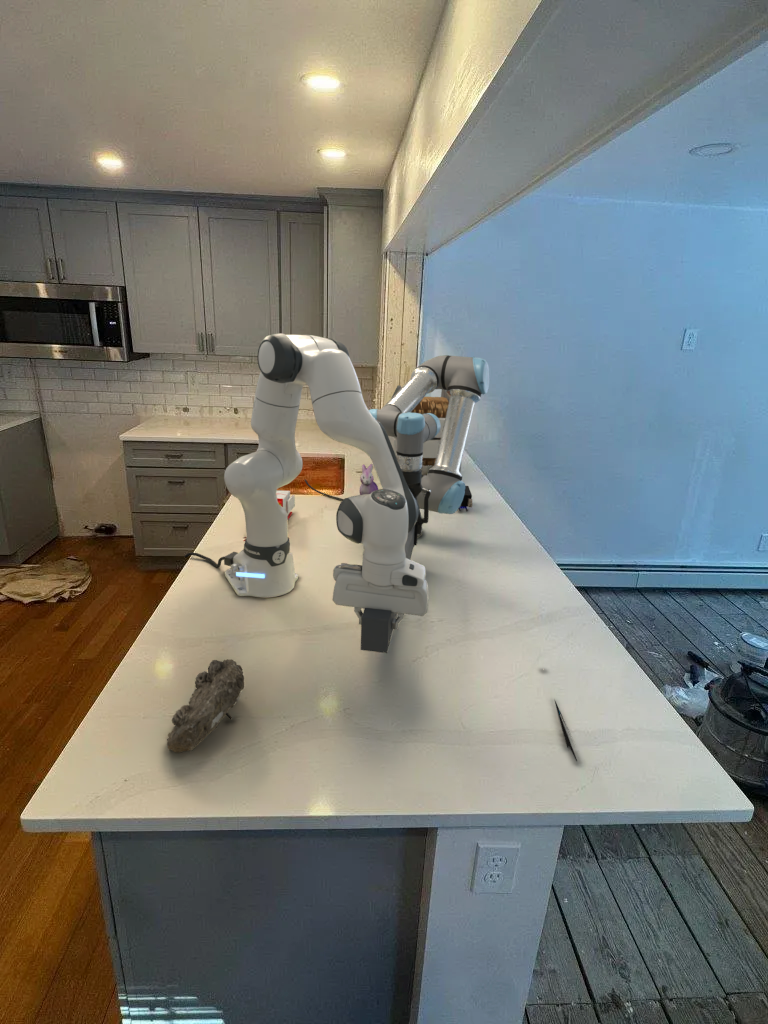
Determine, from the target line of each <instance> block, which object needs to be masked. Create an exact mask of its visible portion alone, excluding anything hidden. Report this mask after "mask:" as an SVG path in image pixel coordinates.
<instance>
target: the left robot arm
mask: <svg viewBox="0 0 768 1024" xmlns="http://www.w3.org/2000/svg"><path fill="white" fill-rule="evenodd" d="M256 356H257V360H256V361H257V365H258V368H259V370H260V372H259V376H258V377H257V378H258V379H257V383H256V387H255V393H254V398H253V405H252V412H251V418H250V426H251V429H252V431H253V432H254V433H255V434H256V435H257V438H258V447H257V449H256V451H253V452H251V453H248V454H245V455H242V456H240V457H238V458H237V459H235V460H234V461H232V462H231V463H230V464H229V465H228V466H227V467H226V468H225V470H224V475H223V481H224V484H225V487H226V489H227V491H228V492H229V494H230V495H232V497H234V498H235V499H237V500H238V501H239V503H240V505H241V508H242V510H243V513H244V518H245V519H244V520H245V533H246V536H244V537H243V540H242V541H243V542H244V544H243V549H242V550H240V551H239V552H237V551H232V552H231V553H228V554H227V555H224V556H221V557H219V558H218V561H217V563H216V561H214V560H213V559H212V558H210V557H208V556H205V555H203V554H201V553H198V552H195V551H194V552H195V553H194V552H193V551H191V552H187V553H186V554H185V555H184V558H188V557H190V556H195V557H198V558H200V559H203V560H205V561H207V562H209V563H210V564H212V565H213V566H214V567H215V568H220V567H221V565H222V561H223V564H224V566H229V567H230V568H227V569H226V570H225V571H224V577H225V578H226V580H227V582H228V583H229V584H230V586H231V587H232V589H233V590H234V592H235V593H236V595H237V596H239V597H254V598H255V597H256V598H261V599H262V598H264V599H265V598H266V599H267V598H275V597H280V596H283V595H286V594H288V593H290V592H291V591H292V590H293V589H294V588H295V585H296V582H297V580H298V579H299V574H298V573H296V571H295V562H294V554H293V553H292V552H291V542H290V537H289V524H288V523H289V522H288V521H289V519H288V515H287V511H286V510H285V509H284V508H283V507H282V506H280V505H279V504H278V501H277V497H276V491H278V489H280V488H282V487H284V486H286V485H288V484H291V483H292V482H293V481H294V480H295V479H296V478H297V477H298V476H299V475H300V474H301V472H302V470H303V467H304V466H303V457H302V455H301V453H300V452H299V450H297V446H296V445H297V444H296V429H297V421H298V417H299V410H300V405H301V399H302V392H303V388H304V386H308V389H309V394H310V399H311V405H312V409H313V414H314V419H315V421H316V424H317V426H318V428H319V430H320V431H321V432H322V433H323V434H324V435H325V436H327V437H328V438H330V439H332V440H333V441H335V442H338V443H341V444H345V445H348V446H351V447H353V448H356V449H359V450H361V451H362V452H363V453H365V454H366V455H367V456H368V457H369V459H370V460H371V462H372V464H373V468H374V470H375V473H376V476H377V479H378V481H379V483H380V486H381V488H378V489H379V490H376V491H373V492H372V493H371V494H363V495H360V494H357V495H351V496H348V497H344V498H343V499H344V500H343V501H342V500H341V502H340V503H339V505H338V507H337V510H336V515H335V520H336V522H335V523H336V528H337V530H338V532H339V533H340V534H341V535H342V536H343V537H344V538H345V539H347V540H349V541H351V542H352V543H354V544H357V545H361V546H362V547H363V551H362V559H361V560H362V561H361V564H354V563H353V564H352V563H351V564H349V563H346V562H341V563H340V564H337V565H335V566H334V568H333V571H332V572H333V573H332V576H333V580H334V581H335V583H334V587H333V592H332V602H333V603H334V604H335V605H337V606H343V607H350V608H353V610H354V613H355V615H356V616H357V618H358V625H359V626H361V621H362V615H363V612H364V611H362V609H363V610H364V609H365V608H372V609H381V610H390V611H391V612H394V613H397V616H396V619H394V618H392V622H391V629H393V630H398V629H399V624H400V623H401V622H402V620H403V619H404V618H405V615H408V616H409V615H411V616H418V617H424V616H426V614H428V612H429V611H428V610H429V601H430V599H429V598H430V592H429V583H428V581H427V579H426V575H427V574H426V573H427V572H426V567H425V566H424V565H423V564H421V563H419V562H416V561H414V560H412V559H411V560H410V559H408V558H406V553H405V543H406V541H407V537H408V533H409V532H410V531H411V530H412V528H413V527H414V525H415V524H416V521H417V519H418V515H419V509H418V505H417V502H416V500H415V498H414V496H413V495H412V493H411V491H410V489H409V488H408V486H407V483H406V481H405V478H404V476H403V473H402V471H401V468H400V465H399V463H398V460H397V458H396V455H395V452H394V450H393V447H392V445H391V442H390V440H389V437H388V435H387V433H386V431H385V429H384V427H383V425H382V424H381V423H380V422H379V421H377V420H375V418H374V417H373V416H372V415H371V413H370V412H369V410H370V409H369V408H368V406H367V405H366V402H365V400H364V397H363V391H362V388H361V385H360V381H359V378H358V374H357V371H356V370H355V367H354V365H353V362H352V360H351V358H350V352H349V350H348V348H347V347H346V345H345V344H344V343H343V342H341V341H339V340H336V339H334V338H331V337H322V336H319V335H312V334H285V333H282V332H281V333H273V334H268V335H267V336H265V337H264V338H263V339H262V340H261V342H260V344H259V346H258V349H257V355H256Z"/></svg>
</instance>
